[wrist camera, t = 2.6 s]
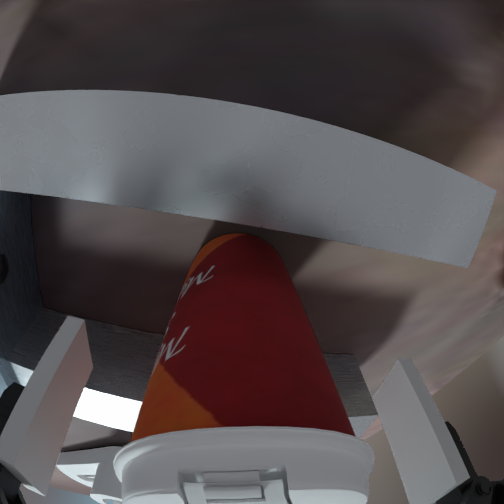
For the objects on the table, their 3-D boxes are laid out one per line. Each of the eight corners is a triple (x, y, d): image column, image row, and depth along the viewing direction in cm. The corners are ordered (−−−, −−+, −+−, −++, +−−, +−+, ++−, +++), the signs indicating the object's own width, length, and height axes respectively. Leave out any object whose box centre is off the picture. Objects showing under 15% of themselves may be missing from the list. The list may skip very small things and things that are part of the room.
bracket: (130, 442, 26) (119, 494, 20) (185, 472, 29) (180, 518, 23) (53, 453, 31) (41, 487, 25) (97, 479, 34) (89, 511, 28)
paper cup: (162, 221, 17) (48, 461, 4) (300, 208, 17) (430, 445, 4) (187, 330, 20) (159, 538, 8) (301, 321, 20) (354, 527, 8)
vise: (-41, 309, 19) (-77, 352, 13) (-67, 110, 11) (-128, 127, 5) (335, 387, 24) (356, 455, 17) (430, 163, 16) (510, 197, 9)
